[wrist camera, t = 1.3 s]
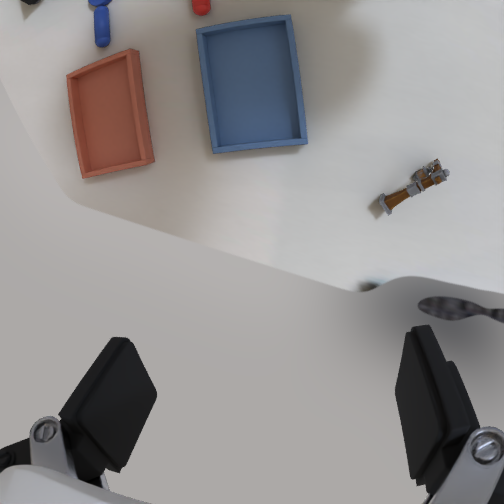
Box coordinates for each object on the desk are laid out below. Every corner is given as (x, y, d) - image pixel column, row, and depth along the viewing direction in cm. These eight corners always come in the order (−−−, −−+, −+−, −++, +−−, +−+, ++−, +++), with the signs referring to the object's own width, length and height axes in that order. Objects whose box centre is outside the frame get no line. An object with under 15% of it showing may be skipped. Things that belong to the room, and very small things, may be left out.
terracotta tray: (76, 75, 29) (66, 75, 27) (138, 50, 28) (130, 48, 26) (91, 175, 34) (82, 178, 33) (154, 161, 33) (147, 164, 31)
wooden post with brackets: (449, 163, 27) (454, 182, 24) (391, 195, 33) (388, 217, 30) (440, 149, 27) (445, 167, 24) (382, 183, 33) (378, 203, 30)
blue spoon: (91, -12, 24) (83, -15, 22) (117, -24, 23) (109, -28, 22) (94, 53, 28) (85, 51, 26) (120, 42, 27) (112, 40, 26)
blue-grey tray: (201, 33, 26) (195, 29, 24) (291, 20, 25) (290, 14, 23) (217, 151, 32) (212, 153, 30) (307, 142, 30) (308, 144, 28)
